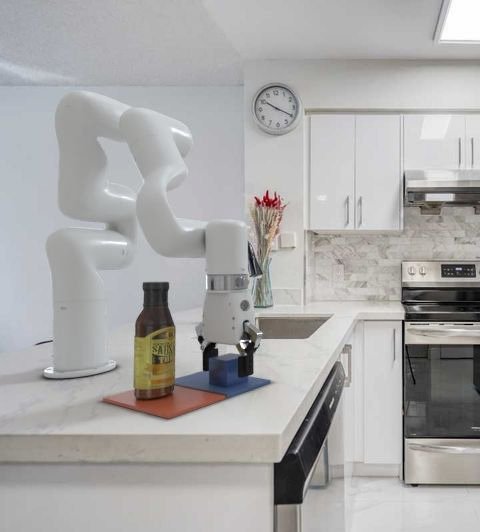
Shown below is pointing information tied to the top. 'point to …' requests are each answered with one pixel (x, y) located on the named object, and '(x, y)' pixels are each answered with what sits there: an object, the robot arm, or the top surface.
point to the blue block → (225, 370)
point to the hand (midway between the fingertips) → (227, 372)
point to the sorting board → (185, 395)
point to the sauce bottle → (154, 344)
